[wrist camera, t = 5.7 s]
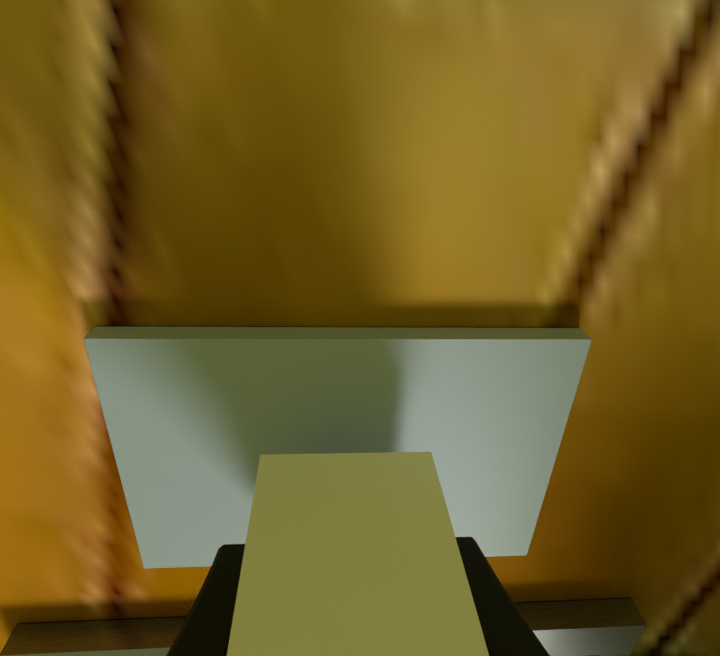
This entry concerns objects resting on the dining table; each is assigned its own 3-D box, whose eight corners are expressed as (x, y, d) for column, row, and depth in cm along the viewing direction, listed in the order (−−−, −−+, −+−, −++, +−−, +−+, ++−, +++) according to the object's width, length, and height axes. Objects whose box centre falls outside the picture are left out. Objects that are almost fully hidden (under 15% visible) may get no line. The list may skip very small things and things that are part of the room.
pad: (580, 328, 12) (591, 339, 12) (519, 539, 16) (526, 555, 15) (94, 326, 11) (83, 339, 11) (150, 550, 15) (144, 568, 15)
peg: (430, 451, 11) (499, 691, 7) (415, 562, 13) (461, 806, 9) (260, 454, 11) (217, 707, 7) (269, 567, 13) (240, 823, 8)
